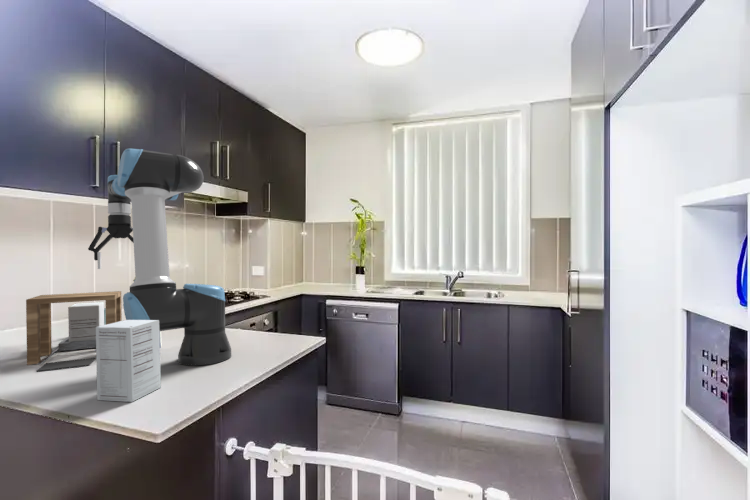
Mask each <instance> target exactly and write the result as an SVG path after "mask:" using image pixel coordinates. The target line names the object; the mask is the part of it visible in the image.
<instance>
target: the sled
mask: <svg viewBox="0 0 750 500" xmlns="http://www.w3.org/2000/svg"><path fill="white" fill-rule="evenodd" d="M104 325H106V307H104ZM57 344H58V345H57V348H58V351H57V352H63V351H74V350H75V349H76V350H84V349H85V348H86V349H95V347H96V340H87V341H76V342H69V336H67V337H66V338H65V339H63V340H61V342H58V343H57Z"/></svg>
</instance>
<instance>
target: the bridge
mask: <svg viewBox="0 0 750 500" xmlns="http://www.w3.org/2000/svg"><path fill="white" fill-rule="evenodd" d="M95 301H96V302H98V301H99V302H101V301H105V308H106V325H107V324H111V323H115V322H119V321H123V319H122V318H123V317H122V314H123V313H122V291H121V290H118V291H117V290H115V291H101V292H100V291H99V292H98V291H97V292H75V293H74V292H73V293H59V294H58V293H56V294H41V295H37V296H33V297H30V298H28V299H27V298H26V300H25V309H26V310H25V313H26V314H25V316H26V317H25V318H26V319H25V323H26V324H25V326H26V365H27V366H29V365H31V366H32V365H39V364H38V362H40V361H41V360H42V359H41V358H42V357H47V356H48V355H49V354H51V353H52V352H53V350H52V349H53V348H52V347H53V346H52V304H60V303H61V304H62V303H83V302H95Z"/></svg>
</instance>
